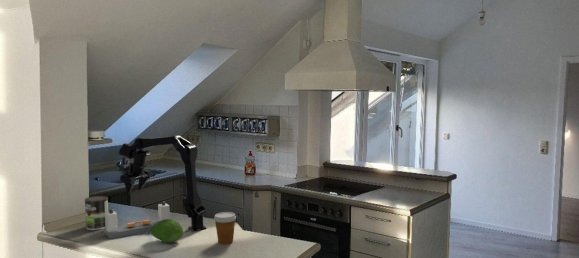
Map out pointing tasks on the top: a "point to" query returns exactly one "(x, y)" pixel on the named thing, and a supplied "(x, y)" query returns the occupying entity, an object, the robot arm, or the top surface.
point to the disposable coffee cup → (225, 227)
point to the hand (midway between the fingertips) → (133, 192)
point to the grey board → (131, 230)
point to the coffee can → (96, 212)
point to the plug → (163, 211)
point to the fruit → (167, 231)
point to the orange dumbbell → (138, 222)
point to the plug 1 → (111, 221)
